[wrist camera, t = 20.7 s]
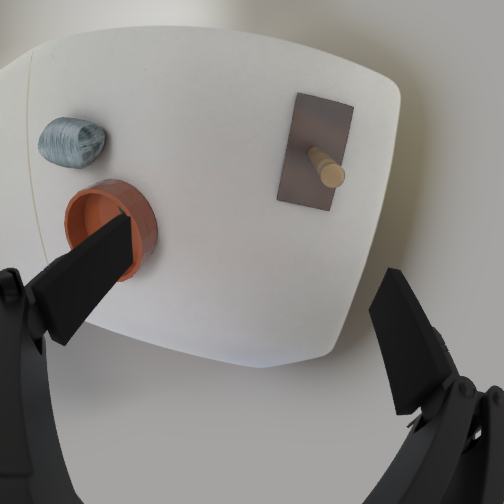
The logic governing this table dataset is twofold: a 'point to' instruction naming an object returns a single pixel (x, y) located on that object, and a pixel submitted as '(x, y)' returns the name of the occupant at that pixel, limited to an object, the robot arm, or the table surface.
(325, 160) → the stick
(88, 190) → the bowl
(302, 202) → the brown board
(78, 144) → the blue yarn skein
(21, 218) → the table surface
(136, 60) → the table surface
